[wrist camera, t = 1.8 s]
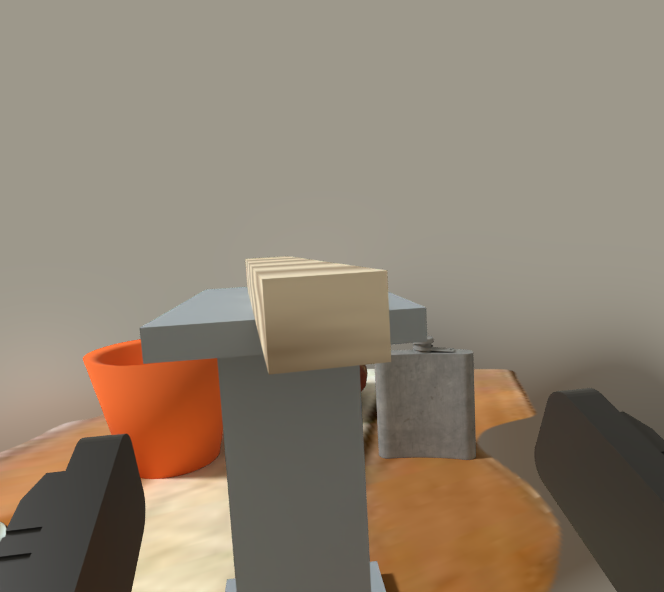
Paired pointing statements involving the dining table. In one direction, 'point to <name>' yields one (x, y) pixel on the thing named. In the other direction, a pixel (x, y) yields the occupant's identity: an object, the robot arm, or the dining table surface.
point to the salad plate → (2, 530)
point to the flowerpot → (159, 407)
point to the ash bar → (318, 313)
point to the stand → (284, 447)
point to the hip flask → (426, 403)
